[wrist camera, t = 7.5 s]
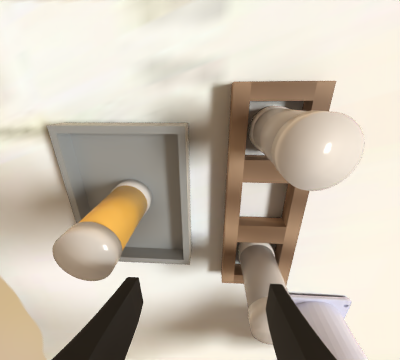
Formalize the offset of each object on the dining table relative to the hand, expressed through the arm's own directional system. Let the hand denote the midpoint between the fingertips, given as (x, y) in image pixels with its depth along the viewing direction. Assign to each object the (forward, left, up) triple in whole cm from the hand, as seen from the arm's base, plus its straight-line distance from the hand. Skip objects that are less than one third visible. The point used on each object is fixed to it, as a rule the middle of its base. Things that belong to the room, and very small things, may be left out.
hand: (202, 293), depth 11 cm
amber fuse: (+1, +7, -9) cm, 12 cm away
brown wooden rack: (+1, -5, -10) cm, 11 cm away
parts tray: (+1, +7, -10) cm, 12 cm away
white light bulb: (+8, -5, -10) cm, 13 cm away
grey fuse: (-5, -5, -10) cm, 12 cm away
